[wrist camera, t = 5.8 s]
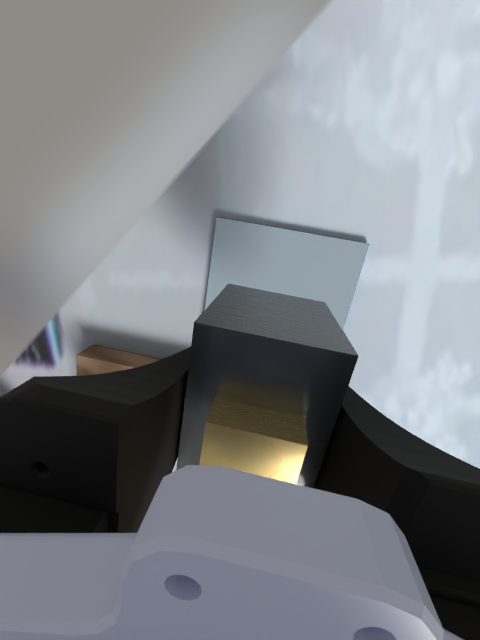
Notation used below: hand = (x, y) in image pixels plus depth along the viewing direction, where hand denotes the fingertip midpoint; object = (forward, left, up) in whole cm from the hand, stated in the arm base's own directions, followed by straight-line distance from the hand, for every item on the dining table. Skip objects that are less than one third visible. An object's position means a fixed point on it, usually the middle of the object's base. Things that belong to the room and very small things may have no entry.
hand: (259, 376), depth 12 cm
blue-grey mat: (0, +1, -10) cm, 10 cm away
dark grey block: (0, 0, -1) cm, 1 cm away
